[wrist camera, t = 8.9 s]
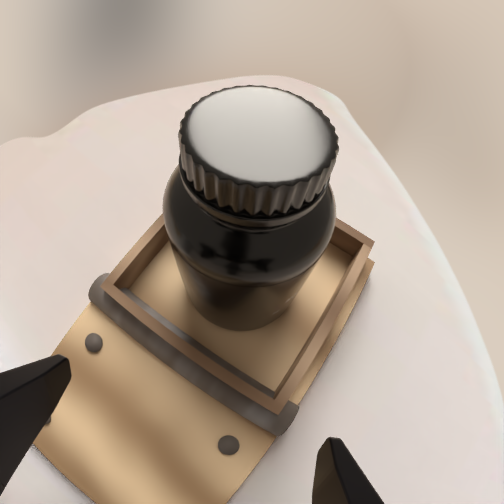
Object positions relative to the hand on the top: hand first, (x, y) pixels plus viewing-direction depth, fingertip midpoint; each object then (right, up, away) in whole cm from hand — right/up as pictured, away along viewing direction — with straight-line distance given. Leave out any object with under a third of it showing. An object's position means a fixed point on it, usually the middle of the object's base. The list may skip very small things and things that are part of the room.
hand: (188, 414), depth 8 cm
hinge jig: (-2, -1, +9) cm, 10 cm away
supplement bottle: (+1, +3, +11) cm, 11 cm away
